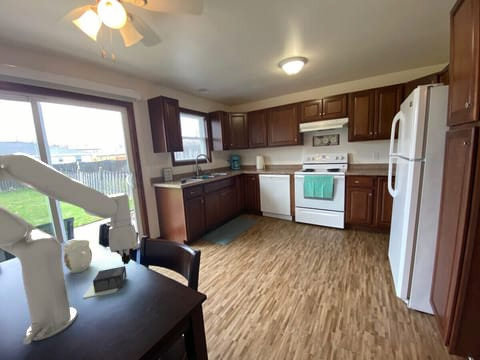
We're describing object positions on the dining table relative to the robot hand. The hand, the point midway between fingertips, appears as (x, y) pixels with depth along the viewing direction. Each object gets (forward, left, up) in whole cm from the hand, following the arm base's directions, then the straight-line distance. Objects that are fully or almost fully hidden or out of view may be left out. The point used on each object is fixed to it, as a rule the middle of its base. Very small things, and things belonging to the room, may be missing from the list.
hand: (126, 262), depth 90 cm
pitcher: (+20, +27, -9) cm, 35 cm away
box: (0, +1, -6) cm, 6 cm away
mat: (0, +9, -9) cm, 13 cm away
